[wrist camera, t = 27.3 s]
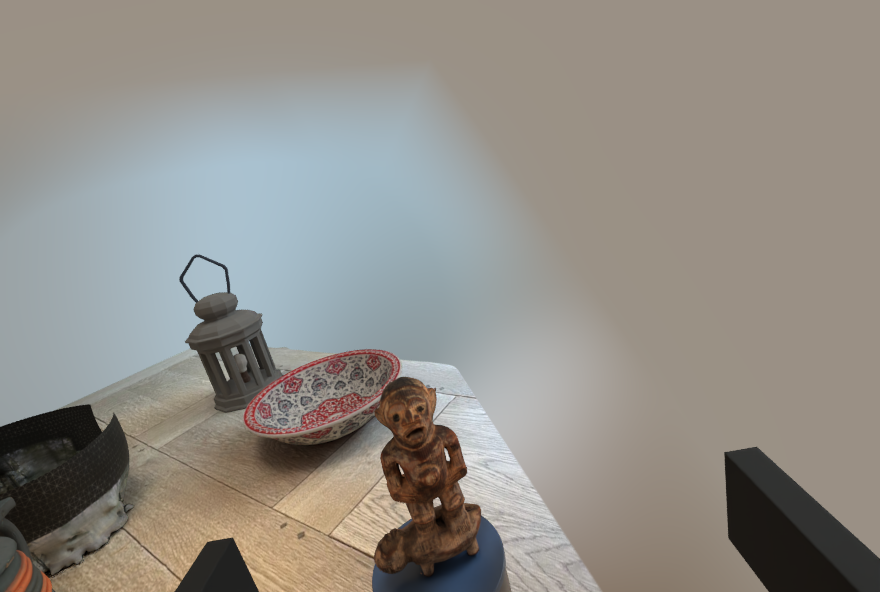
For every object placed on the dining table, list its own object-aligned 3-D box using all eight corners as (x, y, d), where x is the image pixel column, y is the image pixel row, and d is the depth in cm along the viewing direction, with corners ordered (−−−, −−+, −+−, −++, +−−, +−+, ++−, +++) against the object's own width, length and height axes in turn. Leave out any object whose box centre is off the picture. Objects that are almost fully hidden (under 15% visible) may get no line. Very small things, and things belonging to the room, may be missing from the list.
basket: (139, 444, 88) (105, 377, 84) (163, 524, 62) (115, 433, 57) (-49, 536, 72) (-105, 459, 67) (-128, 700, 45) (-228, 591, 41)
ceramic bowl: (388, 367, 97) (379, 336, 94) (435, 425, 70) (424, 384, 68) (259, 418, 87) (245, 385, 85) (257, 507, 61) (237, 462, 59)
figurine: (377, 589, 31) (315, 418, 27) (419, 517, 36) (373, 366, 32) (459, 616, 28) (403, 426, 23) (491, 533, 33) (451, 368, 29)
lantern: (282, 368, 112) (235, 242, 102) (290, 390, 97) (236, 246, 87) (215, 394, 105) (158, 262, 96) (213, 421, 91) (146, 270, 81)
